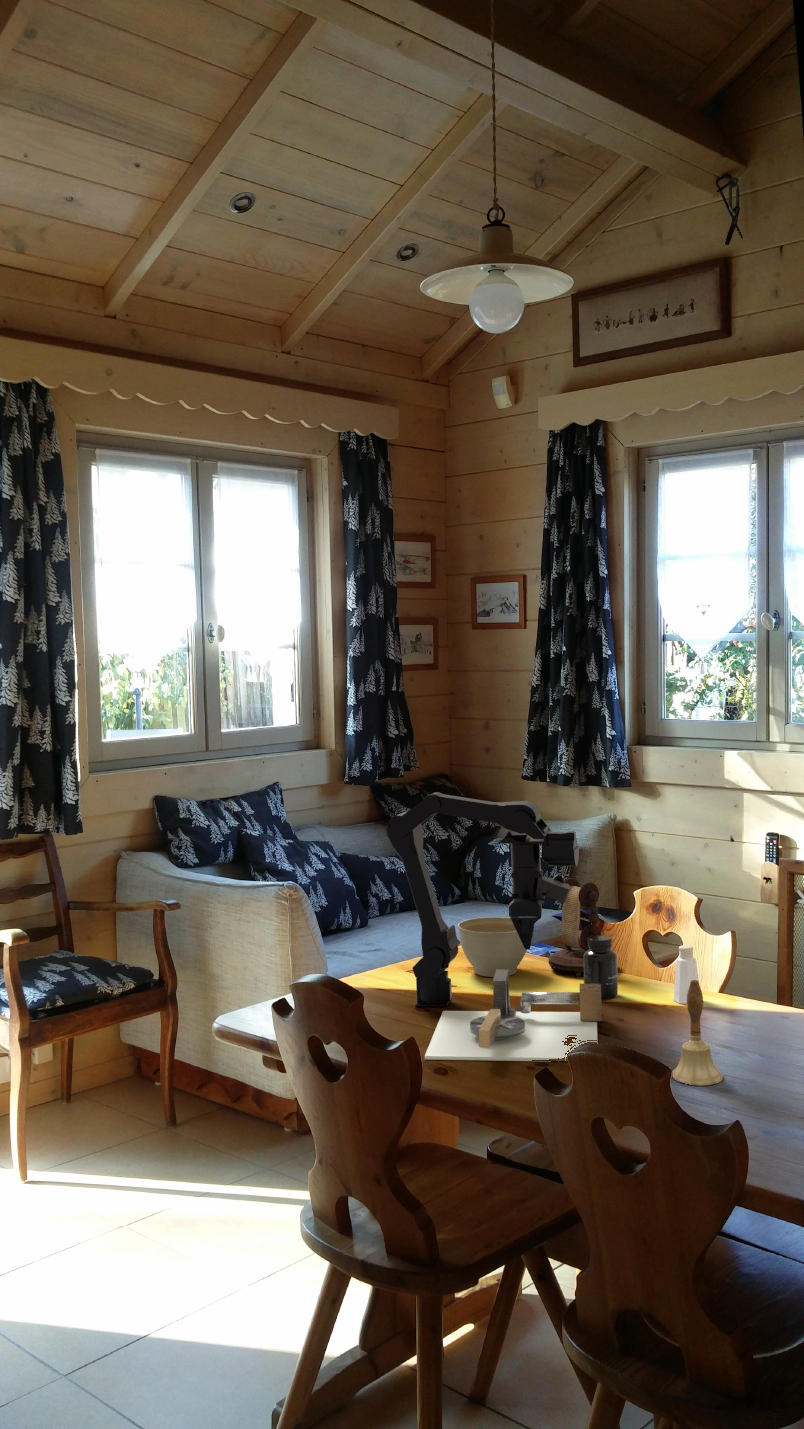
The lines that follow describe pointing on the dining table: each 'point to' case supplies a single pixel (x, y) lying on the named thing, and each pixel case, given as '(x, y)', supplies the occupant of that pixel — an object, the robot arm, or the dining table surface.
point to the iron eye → (502, 992)
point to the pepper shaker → (684, 973)
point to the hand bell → (696, 1047)
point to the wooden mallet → (568, 1000)
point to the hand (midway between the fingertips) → (528, 943)
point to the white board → (532, 1044)
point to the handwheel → (496, 1027)
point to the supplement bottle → (601, 966)
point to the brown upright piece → (576, 926)
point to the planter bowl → (491, 945)
